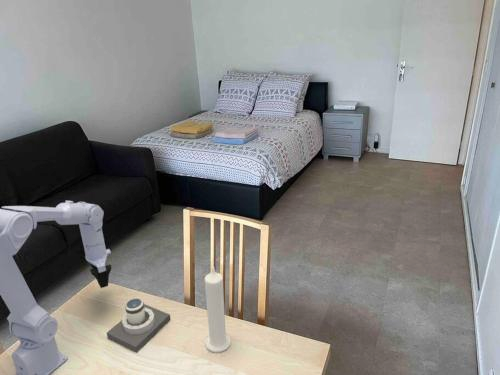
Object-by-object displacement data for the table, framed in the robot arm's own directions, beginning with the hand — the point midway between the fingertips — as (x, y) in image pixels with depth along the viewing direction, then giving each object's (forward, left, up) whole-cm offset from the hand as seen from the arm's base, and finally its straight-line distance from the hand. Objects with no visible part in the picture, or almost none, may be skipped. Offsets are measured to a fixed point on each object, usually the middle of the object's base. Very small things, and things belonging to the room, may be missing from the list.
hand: (101, 279), depth 117 cm
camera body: (-3, -17, -9) cm, 20 cm away
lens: (-3, -17, -7) cm, 19 cm away
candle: (+3, -40, -10) cm, 41 cm away
